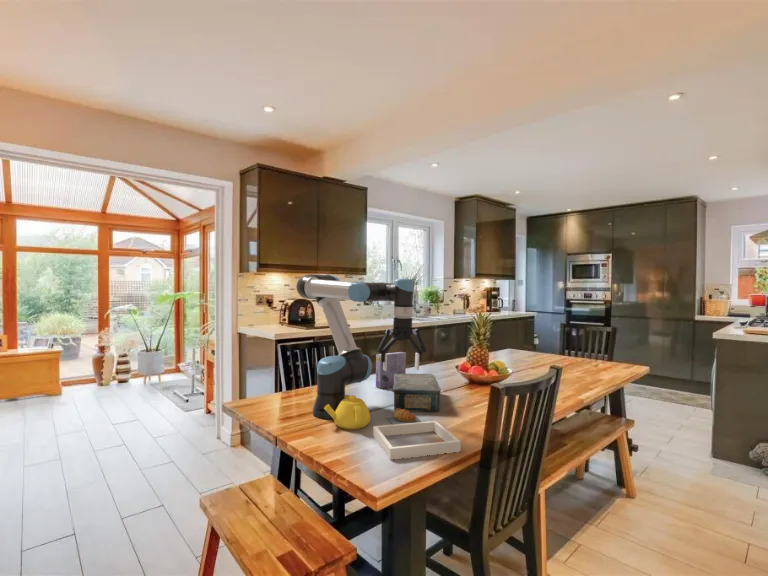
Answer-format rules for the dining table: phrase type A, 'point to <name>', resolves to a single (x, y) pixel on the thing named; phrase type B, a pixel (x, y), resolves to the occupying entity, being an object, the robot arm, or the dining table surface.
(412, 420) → the pastry
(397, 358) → the cake pan box
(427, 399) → the metal box
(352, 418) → the teapot
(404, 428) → the white shallow tray
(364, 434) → the dining table surface
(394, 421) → the mat
